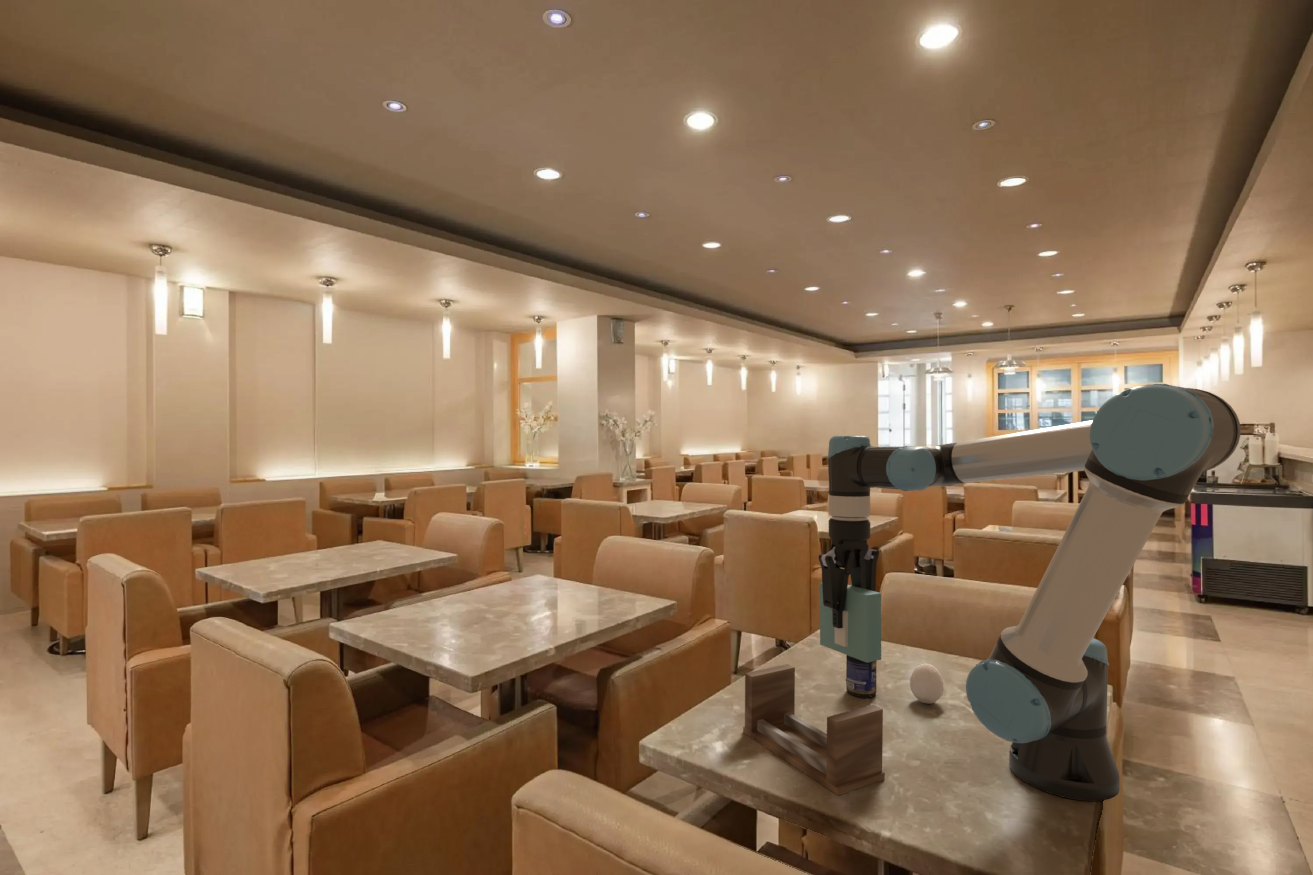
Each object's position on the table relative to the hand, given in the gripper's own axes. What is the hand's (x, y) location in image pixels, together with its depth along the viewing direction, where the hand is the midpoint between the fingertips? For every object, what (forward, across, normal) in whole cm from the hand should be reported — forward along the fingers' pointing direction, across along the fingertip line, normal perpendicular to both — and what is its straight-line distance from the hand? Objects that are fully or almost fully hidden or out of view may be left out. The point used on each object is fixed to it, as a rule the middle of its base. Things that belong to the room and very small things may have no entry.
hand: (849, 642), depth 124 cm
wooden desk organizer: (+16, +14, +4) cm, 22 cm away
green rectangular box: (+2, 0, 0) cm, 2 cm away
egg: (+16, -22, -1) cm, 27 cm away
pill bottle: (+16, -14, -11) cm, 24 cm away
